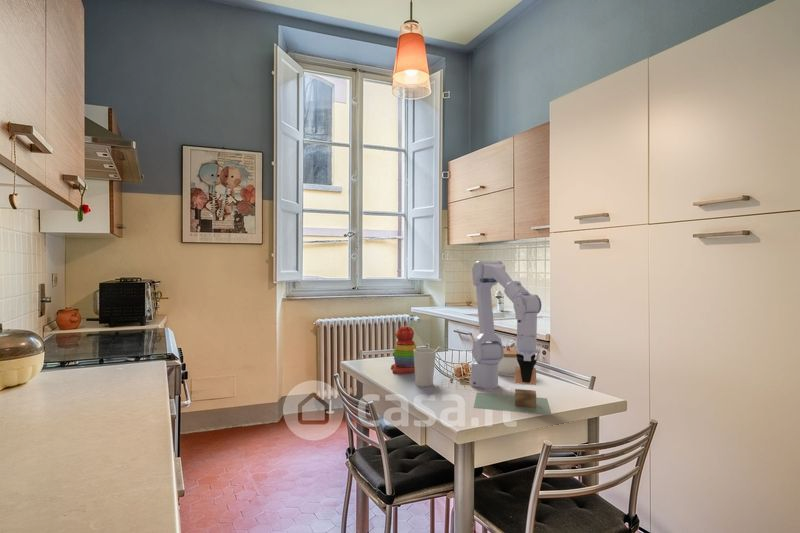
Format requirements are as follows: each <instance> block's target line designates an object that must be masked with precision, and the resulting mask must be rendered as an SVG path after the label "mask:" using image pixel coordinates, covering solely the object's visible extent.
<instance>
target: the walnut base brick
mask: <svg viewBox="0 0 800 533" xmlns="http://www.w3.org/2000/svg"><path fill="white" fill-rule="evenodd" d="M514 396H515V406H516V407H527V408H536V397H537V391H536V390H535V389H534V390H532V389H522V388H521V389H520V388H515V389H514Z"/></svg>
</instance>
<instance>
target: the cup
mask: <svg viewBox="0 0 800 533" xmlns="http://www.w3.org/2000/svg"><path fill="white" fill-rule="evenodd" d="M413 351H414V366H415V372H414V380H415V382H414V384H415V386H418V387H423V386H427V387H433V385H434V374H435V365H436V364H435V363H436V356H437V354H436V353H437V351H436V349H433V348H427V347H426V348H425V347H424V348H423V347H421V348H418V347H417V349H414V350H413Z"/></svg>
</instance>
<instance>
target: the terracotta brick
mask: <svg viewBox="0 0 800 533" xmlns="http://www.w3.org/2000/svg"><path fill="white" fill-rule="evenodd" d="M514 384H518V385H519V384H520V385H521V384H522V385H533V386H536V385H537V370H536V367H534V368H533V371H532V376H531V380H530V383H527V382H522V377H521V370H520V367H515V376H514Z"/></svg>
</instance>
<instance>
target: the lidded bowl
mask: <svg viewBox="0 0 800 533" xmlns="http://www.w3.org/2000/svg"><path fill="white" fill-rule="evenodd" d="M503 348H504V356H503V358H502V359H501V360H500V363H498V375H500V376H505V377H515V367H520V366H519V363H518V361H517V356H516V354H519V353H517V352H516V348H513V347H511V346H510V345H506V347H503Z"/></svg>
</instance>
